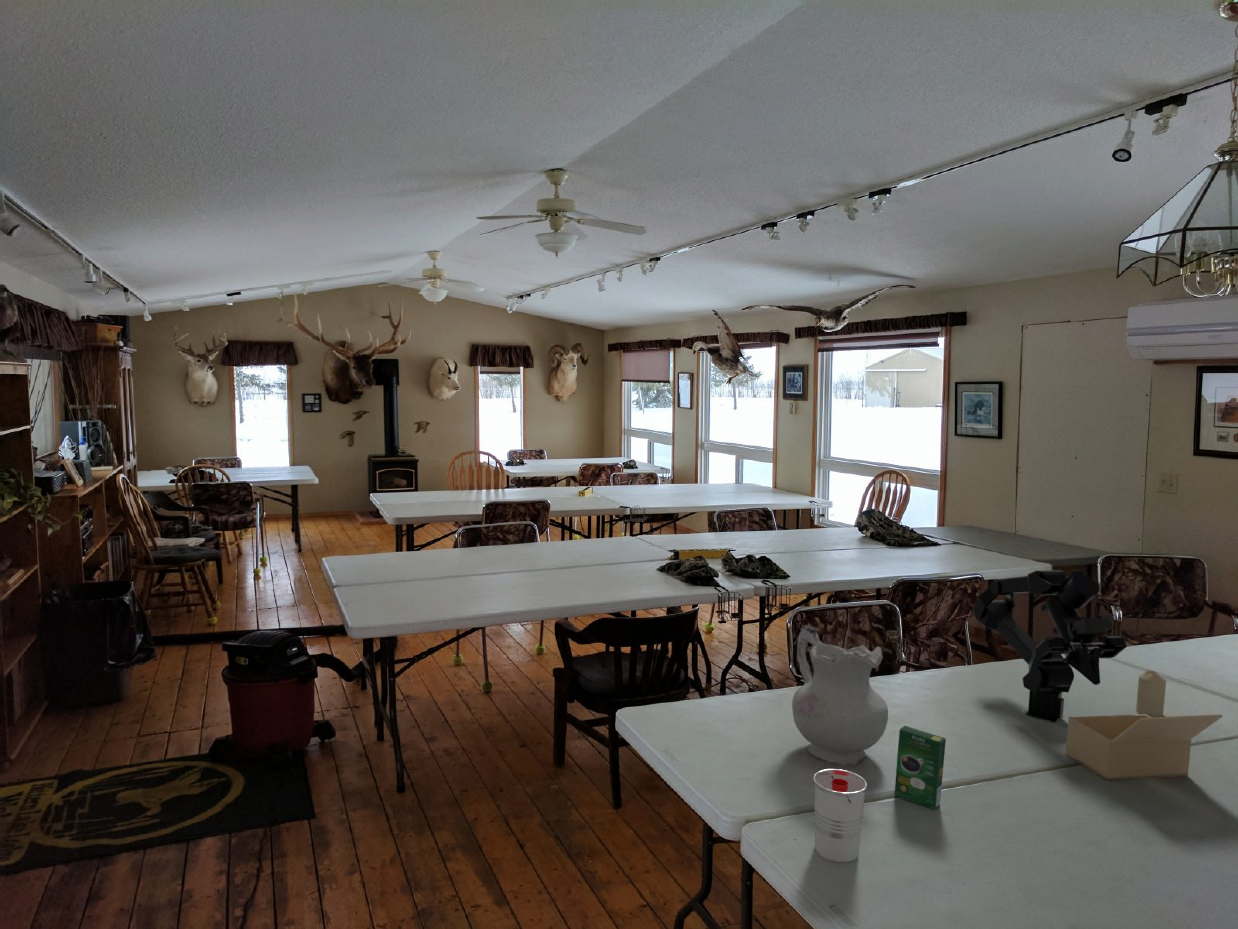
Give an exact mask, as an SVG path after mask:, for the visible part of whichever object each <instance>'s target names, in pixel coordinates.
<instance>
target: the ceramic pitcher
mask: <svg viewBox="0 0 1238 929" xmlns="http://www.w3.org/2000/svg"><path fill="white" fill-rule="evenodd" d="M817 631H818V628H817V627H815V626H810V625H803V627H802V628H801V631H800V632H799V635H798V638H797V639H798V640H797V647H796V648H797V650H796V651H797V653H796V654H797V661H798V664H799V671H800V673H801V674H802V676H803V677H802V678H803V679H804V684H803V685H801V687H799V688H798V689H797V690H796V691H795V693H794V695H793V698H792V701H791V702H792V703H791V708H792V715H793V722H794V724H795V727H796V728H797V730H798V731H799V733H800V734H801V735H802V737H803V738H804V739H805V741H807V742H808V743H809V744H808V745H807V746H808V747H807V750H808V754H810V755H812V756H814V757H816V758H818V759H820V760H822V761H826V762H828V763H830V764H834V765H835V766H839V767H849V768H850V767H851V768H852V767H854V766H856V765H857V764H858V763H859V762H861V760H863V758H864V757H865V756H866V752H865V750H868V749H870V748H872V747H873V746H875V744H877V742H879V741H880V740H881V738H882V736H883V735H884V734H885V731H886V728H887V725H888V721H889V709H888V704H887V703H886V701H885V699H883V697H882V696H881V695H880V694H879V693H878V692H877V691H875V690H874V688H872V686H871V684H870V677H871V672H872V669H874V668H877V667H878V666H880V664H881V663H882V660H883V652H882V647H880V646H876V647H875V648H874V650H872V651H871V650H869V649H868V648H867V647H866V646H865V645H863V644H862V645H859V646H855V647H854V646H853V647H851V648H849V649H845V648H843V647H841V646H838V645H835V644H825V643H823V642H822V641H821V640H820V638H819V635H818V632H817ZM808 643H809V644H811V646H812V647H811V649H810V651H809V657H810V660H811V663H812V667H813V676H812V673H811V668H810V665H809V663H808V660H807V655H806V651H807V646H808Z"/></svg>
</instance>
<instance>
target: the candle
mask: <svg viewBox="0 0 1238 929" xmlns="http://www.w3.org/2000/svg"><path fill="white" fill-rule="evenodd" d="M1166 685H1167V680H1166V679H1165V677H1163V676H1162V675H1161V674H1160V673H1158V672H1156V671H1155V670H1146V671H1143V673H1141V674H1139V675H1138V683H1137V691H1136V706H1135V710H1136V713H1138V714H1146V715H1148V716H1150V717H1164V709H1165V698H1166Z"/></svg>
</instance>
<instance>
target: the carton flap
mask: <svg viewBox="0 0 1238 929" xmlns="http://www.w3.org/2000/svg"><path fill="white" fill-rule="evenodd" d="M1222 718H1223V715H1222V714H1203V715H1199V714H1198V715H1178V716H1177V715H1176V716H1173V715H1172V716H1162V717H1147V718H1139V719H1138V720H1137V721H1136V722H1134V723H1133V724H1132V725H1131V726H1129V727H1128V728H1127V729H1126V730H1125V731H1123V732H1122V733H1121V734H1120V735H1118V736H1117V737H1116V738H1115V739H1113V740H1112V743H1124V742H1146V741H1169V740H1191V741H1192V739H1194V738H1195V737H1196V736H1197V735H1199V734H1200V733H1202V732H1203V731H1205V730H1206V729H1208V728H1210V726H1212V725H1213V724H1215V722H1218V721H1219V720H1220V719H1222Z"/></svg>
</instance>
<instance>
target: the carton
mask: <svg viewBox="0 0 1238 929" xmlns="http://www.w3.org/2000/svg"><path fill="white" fill-rule="evenodd" d="M1147 717H1150V716H1148V715H1146V714H1140V713H1138V714H1137V713H1136V714H1118V715H1115V714H1114V715H1089V716H1068V718H1067V720H1068V721H1067V731H1066V732H1067V733H1066V743H1065V744H1066V746H1065V748H1066V749H1065V755H1066V756H1068V757H1070V758H1072V759H1073V760H1074V761H1075V762H1077V763H1078V764H1081V765H1082V766H1084V767H1085V768H1086V769H1088V770H1089V771H1092V772H1093V773H1094V774H1096V775H1097V776H1099V777H1100V778H1102V779H1104V780H1105V781H1119V780H1141V779H1156V778H1157V779H1160V778H1174V777H1175V778H1176V777H1177V778H1179V777H1188V776H1189V767H1190V758H1191V745H1192V739H1191V740H1169V741H1146V742H1124V743H1112V740H1113V739H1115V738H1116V737H1117V736H1118V735H1120V734H1121V733H1122V732H1123V731H1125V730H1126V729H1127V728H1128V727H1129V726H1131V725H1132V724H1133V723H1134V722H1136V721H1137V720H1138V719H1139V718H1147Z"/></svg>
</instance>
